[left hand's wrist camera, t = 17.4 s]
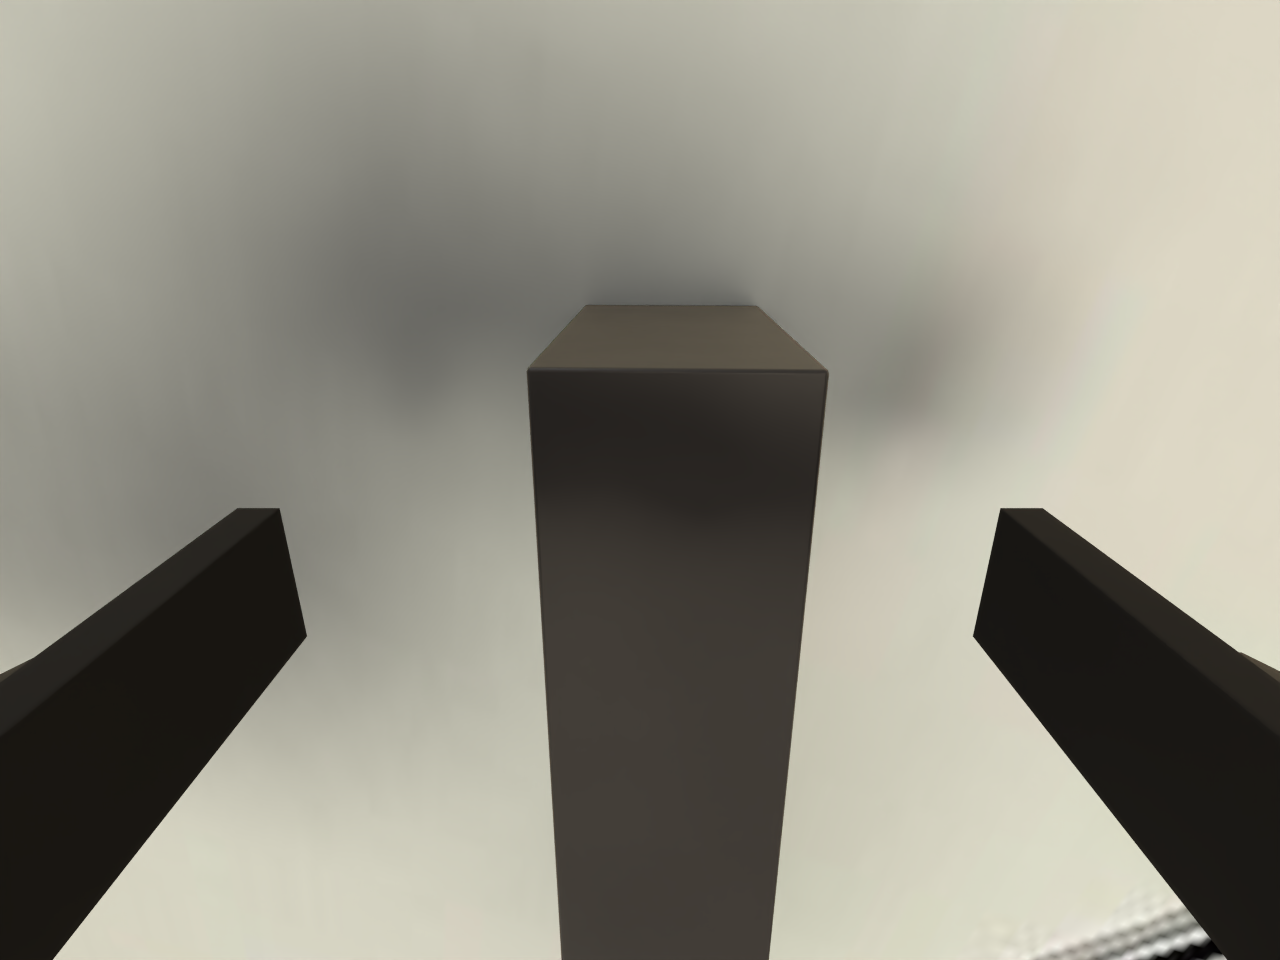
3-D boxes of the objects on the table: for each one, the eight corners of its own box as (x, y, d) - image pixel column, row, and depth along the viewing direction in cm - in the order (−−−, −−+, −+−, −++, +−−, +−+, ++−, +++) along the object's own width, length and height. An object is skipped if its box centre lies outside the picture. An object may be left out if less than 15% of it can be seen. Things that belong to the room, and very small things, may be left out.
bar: (584, 304, 20) (525, 367, 12) (758, 305, 20) (830, 370, 12) (602, 939, 30) (577, 1229, 22) (718, 943, 30) (741, 1237, 22)
